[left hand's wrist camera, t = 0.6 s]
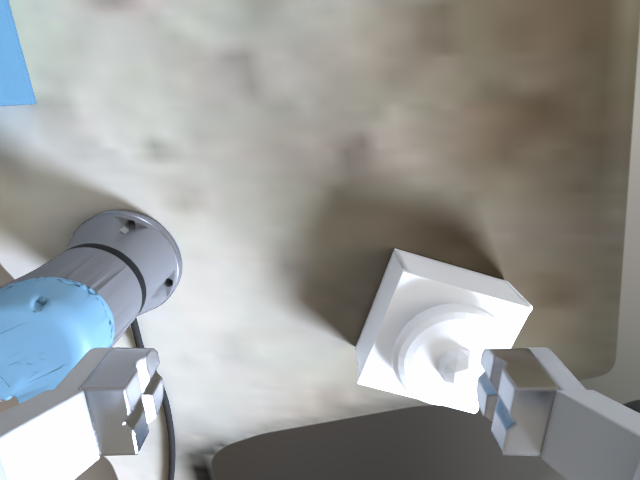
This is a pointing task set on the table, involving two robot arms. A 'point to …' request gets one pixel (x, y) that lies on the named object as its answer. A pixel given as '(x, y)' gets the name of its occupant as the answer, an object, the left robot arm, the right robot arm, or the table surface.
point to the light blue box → (12, 63)
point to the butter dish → (436, 330)
